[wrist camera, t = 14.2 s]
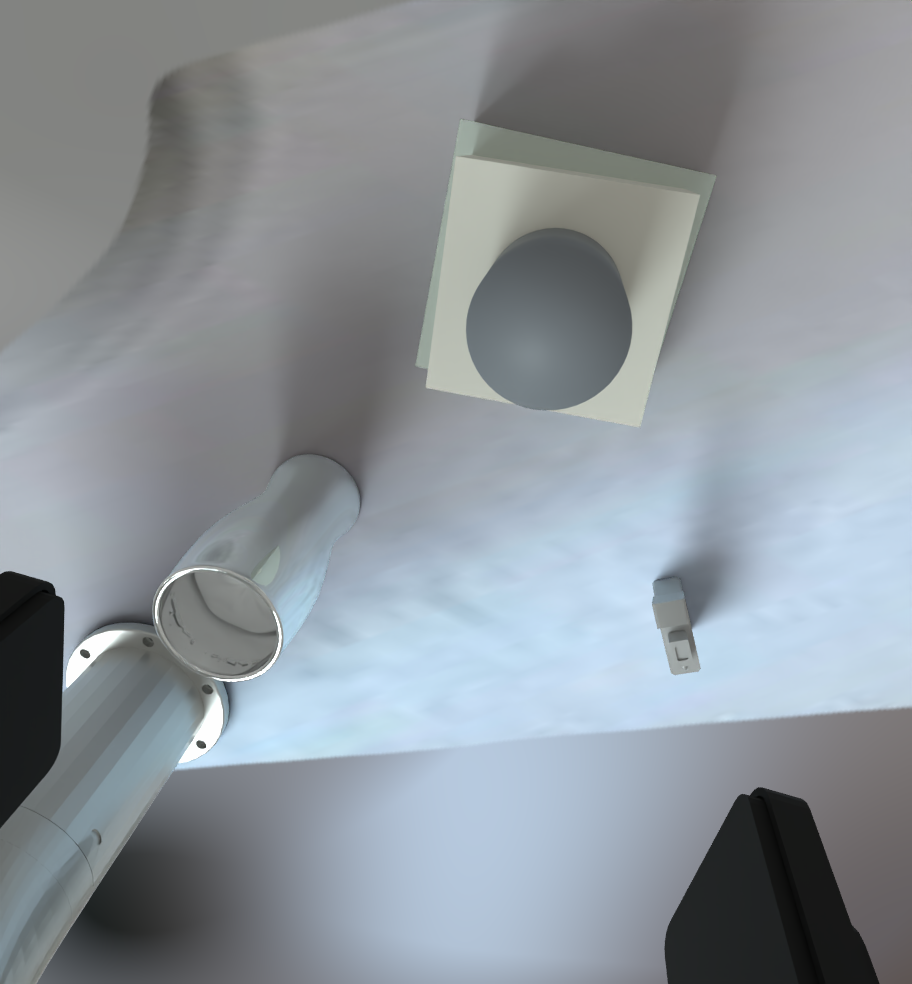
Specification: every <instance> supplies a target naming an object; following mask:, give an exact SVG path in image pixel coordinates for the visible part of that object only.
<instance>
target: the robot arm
mask: <svg viewBox="0 0 912 984" xmlns="http://www.w3.org/2000/svg"><path fill="white" fill-rule="evenodd" d="M63 645H64V601H63V599H62V598H61V597H59V596H56V594H55V588H54V586H53V584H51V583H49V582H47V581H43V580H40V579H36V578H33V577H29V576H26V575H22V574H19V573H15V572H12V571H8V572H4V573H2V574H0V984H36V983H37V981H38V980H39V978H40V977H41V975H42V973H43V971H44V970H45V968H46V966H47V965H48V963H49V961H50V960H51V958H52V956H53V955H54V953H55V952H56V950H57V948H58V947H59V945H60V944H61V942H62V941H63V939H64V937H65V935H66V934H67V932H68V931H69V929H70V928H71V926H72V925H73V923H74V922H75V920H76V919H77V917H78V916H79V914H80V913H81V911H82V909H83V908H84V906H85V905H86V903H87V902H88V900H89V899H90V897H91V895H92V893H93V892H94V891H95V889H96V888H97V886H98V884H99V883H100V882H101V880H102V878H103V877H104V875H105V874H106V872H107V870H108V869H109V868H110V866H111V865H112V863H113V862H114V860H115V859H116V857H117V856H118V854H119V853H120V851H121V849H122V848H123V846H124V845H125V843H126V842H127V840H128V839H129V837H130V836H131V834H132V833H133V831H134V830H135V828H136V827H137V825H138V824H139V822H140V820H141V819H142V818H143V816H144V814H145V813H146V811H147V810H148V808H149V807H150V805H151V804H152V802H153V800H154V799H155V798H156V796H157V795H158V793H159V792H160V790H161V789H162V787H163V786H164V784H165V782H166V781H167V779H168V778H169V776H170V775H171V773H172V772H173V770H174V769H175V767H176V766H177V764H178V763H184V762H188V761H191V760H194V759H197V758H199V757H200V756H202V755H204V754H205V753H207V752H208V751H209V750H210V749H211V748H212V747H213V746H214V745H215V744H216V743H217V741H218V739H219V738H220V736H221V735H222V733H223V731H224V729H225V726H226V724H227V722H228V715H229V703H228V695H227V692H226V689H225V686H224V683H223V681H219V680H214V679H210V678H207V677H204V676H202V675H200V674H197V673H195V672H194V671H192V670H190V669H188V668H187V667H185V666H184V665H183V664H181V663H180V662H179V661H178V660H177V659H175V658H174V657H173V656H172V655H171V653H170V652H169V651H168V650H167V649H166V647H165V646H164V645H163V643H162V641H161V640H160V638H159V636H158V634H157V631H156V629H155V626H152V625H147V624H141V623H116V624H111V625H107V626H104V627H102V628H100V629H97V630H95V631H94V632H92V633H91V634H90V635H88V636H87V637H86V638H85V639H84V640H83V641H82V642H81V643H80V644H79V645H78V646H77V647H76V648H75V650H74V651H73V653H72V655H71V657H70V658H69V662H68V666H67V669H66V684H67V689H66V690H65V691H64V692H63V693H62V685H63ZM665 961H666V969H667V978H668V984H879V981H878V978H877V976H876V973H875V970H874V968H873V965H872V962H871V959H870V957H869V954H868V951H867V949H866V946H865V944H864V942H863V940H862V938H861V936H860V934H859V932H858V931H857V930H856V929H855V928H854V927H853V926H852V925H851V922H850V919H849V916H848V913H847V911H846V908H845V905H844V902H843V899H842V897H841V894H840V891H839V888H838V886H837V883H836V880H835V877H834V874H833V872H832V869H831V866H830V863H829V861H828V858H827V855H826V852H825V850H824V847H823V844H822V841H821V838H820V836H819V833H818V830H817V827H816V825H815V822H814V819H813V816H812V813H811V811H810V808H809V806H808V805H807V803H806V802H805V801H804V800H802V799H800V798H797V797H793V796H790V795H786V794H783V793H779V792H776V791H772V790H769V789H765V788H759V787H758V788H757V789H755V790H754V791H753V792H752V793H751V795H750V796H749V795H745V794H741V795H740V796H738V797H737V799H736V800H735V802H734V804H733V806H732V808H731V810H730V812H729V813H728V815H727V817H726V819H725V821H724V823H723V825H722V826H721V828H720V830H719V832H718V834H717V836H716V837H715V839H714V841H713V843H712V845H711V847H710V849H709V851H708V852H707V854H706V856H705V858H704V860H703V862H702V863H701V865H700V867H699V869H698V871H697V873H696V875H695V876H694V878H693V880H692V882H691V884H690V886H689V888H688V889H687V891H686V893H685V895H684V897H683V899H682V901H681V903H680V904H679V906H678V908H677V910H676V912H675V914H674V915H673V917H672V919H671V921H670V923H669V926H668V929H667V932H666V938H665Z"/></svg>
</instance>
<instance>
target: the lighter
mask: <svg viewBox="0 0 912 984" xmlns="http://www.w3.org/2000/svg"><path fill="white" fill-rule="evenodd" d="M653 590H654V597H653V601H652V606H653V611H654V615H655V620H656V624H657V629H658V628H660V629H661V633H662V637H663V641H664V646H665V650H666V654H667V658H668V662H669V666H670V670H671V673H672V674H674V675H678V674H684V673H691V672H698V671H699V670H700V669H701V668H700V664H699V659H698V655H697V651H696V646H695V642H694V637H693V633H692V628H691V624H690V619H689V614H688V610H687V605H686V601H685V597H684V593H683V589H682V584H681V580H680V578H678V577H673V578H667V579H662V580H657V581H654V582H653Z"/></svg>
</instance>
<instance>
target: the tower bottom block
mask: <svg viewBox="0 0 912 984" xmlns="http://www.w3.org/2000/svg"><path fill="white" fill-rule="evenodd" d="M463 155H476V156H482V157H489V158H495V159H501V160H507V161H514V162H520V163H526V164H532V165H539V166H545V167H551V168H557V169H564V170H570V171H576V172H582V173H589V174H595V175H601V176H608V177H614V178H620V179H626V180H633V181H639V182H645V183H651V184H658V185H664V186H670V187H676V188H683V189H687V190H689V191H692V192H694V193H696V194H699V195H700V198H699V202H698V206H697V210H696V213H695V217H694V221H693V225H692V229H691V233H690V237H689V240H688V244H687V248H686V252H685V256H684V260H683V264H682V267H681V271H680V275H679V279H678V283H677V287H676V291H675V294H674V298H673V302H672V306H671V310H670V314H669V318H668V321H667V325H666V329H665V333H664V337H663V341H664V338H665V335H666V332H667V329H668V326H669V323H670V320H671V317H672V313H673V310H674V307H675V304H676V301H677V298H678V295H679V292H680V289H681V285H682V282H683V279H684V276H685V273H686V270H687V267H688V264H689V261H690V257H691V254H692V251H693V248H694V245H695V242H696V239H697V236H698V233H699V229H700V226H701V223H702V220H703V217H704V214H705V211H706V208H707V205H708V201H709V198H710V195H711V192H712V189H713V186H714V183H715V180H716V177H717V175H712V174H708V173H703V172H699V171H694V170H690V169H685V168H681V167H676V166H672V165H667V164H663V163H658V162H654V161H649V160H645V159H640V158H636V157H631V156H627V155H622V154H618V153H613V152H609V151H604V150H600V149H595V148H591V147H586V146H582V145H577V144H572V143H568V142H563V141H559V140H554V139H550V138H545V137H541V136H536V135H532V134H527V133H523V132H518V131H514V130H509V129H505V128H500V127H496V126H491V125H487V124H482V123H478V122H473V121H469V120H464V119H460V122H459V128H458V133H457V139H456V144H455V150H454V155H453V161H452V166H451V172H450V177H449V183H448V188H447V194H446V200H445V205H444V211H443V216H442V222H441V227H440V233H439V238H438V244H437V249H436V255H435V260H434V266H433V271H432V277H431V282H430V288H429V293H428V299H427V304H426V310H425V315H424V321H423V326H422V332H421V337H420V343H419V348H418V354H417V359H416V365H415V366H417V367H421V368H425V369H428V366H429V358H430V351H431V343H432V335H433V327H434V320H435V312H436V304H437V297H438V289H439V281H440V274H441V266H442V258H443V251H444V243H445V235H446V228H447V220H448V212H449V204H450V197H451V189H452V181H453V174H454V166H455V158H456V156H463ZM663 341H662V345H663ZM662 345H661V348H662ZM661 348H660V351H661ZM659 354H660V352H659ZM658 357H659V356H658Z"/></svg>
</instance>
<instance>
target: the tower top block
mask: <svg viewBox="0 0 912 984" xmlns="http://www.w3.org/2000/svg"><path fill="white" fill-rule="evenodd" d="M699 198H700V195H699V194H696V193H694V192H692V191H689V190H687V189H683V188H676V187H670V186H664V185H658V184H651V183H645V182H639V181H633V180H626V179H620V178H614V177H608V176H601V175H595V174H589V173H582V172H576V171H570V170H564V169H557V168H551V167H545V166H539V165H532V164H526V163H520V162H514V161H507V160H501V159H495V158H489V157H482V156H476V155H463V156H456V158H455V166H454V174H453V181H452V189H451V197H450V204H449V212H448V220H447V228H446V235H445V243H444V251H443V258H442V266H441V274H440V281H439V289H438V297H437V304H436V312H435V320H434V327H433V335H432V343H431V351H430V358H429V366H428V374H427V381H426V388H428V389H434V390H439V391H445V392H450V393H455V394H461V395H466V396H472V397H477V398H483V399H488V400H493V401H499V402H504V403H510V404H514V403H512V402H510V401H508V400H506V399H505V398H503V397H502V396H500V395H499V394H497V393H496V392H495V391H494V390H493V389H492V388H491V387H489V385H488V384H487V383H486V382H485V381H484V380H483V379H482V377H481V376H480V374H479V373H478V371H477V369H476V367H475V365H474V363H473V361H472V359H471V356H470V353H469V350H468V345H467V338H466V319H467V314H468V309H469V306H470V303H471V300H472V297H473V295H474V293H475V291H476V289H477V287H478V286H479V284H480V283H481V281H482V280H483V278H484V277H485V275H486V274H487V272H488V271H489V269H490V268H491V267H492V265H493V264H494V262H495V261H496V259H497V258H498V256H499V255H500V254H501V253H502V252H503V251H504V249H506V248H507V247H508V246H509V245H510V244H511V243H512V242H514V241H515V240H517V239H518V238H520V237H522V236H524V235H526V234H528V233H531V232H534V231H536V230H541V229H546V228H565V229H570V230H574V231H577V232H580V233H583V234H585V235H587V236H588V237H590V238H592V239H593V240H595V241H596V242H598V243H599V244H600V245H601V246H602V247H603V248H604V249H605V250H606V251H607V252H608V254H609V255H610V256H611V257H612V259H613V261H614V262H615V264H616V266H617V268H618V271H619V273H620V276H621V279H622V282H623V286H624V289H625V292H626V295H627V298H628V302H629V305H630V309H631V315H632V338H631V344H630V348H629V351H628V355H627V357H626V359H625V362H624V364H623V366H622V367H621V369H620V371H619V372H618V374H617V375H616V376H615V378H614V379H613V380H612V382H611V383H610V384H609V385H608V386H607V387H606V388H605V389H604V390H602V391H601V392H600V393H598V394H597V395H596V396H594V397H593V398H591V399H589V400H587V401H586V402H583V403H581V404H579V405H576V406H573V407H570V408H566V409H560V410H548V411H553V412H559V413H564V414H569V415H575V416H580V417H586V418H591V419H597V420H602V421H607V422H613V423H618V424H624V425H629V426H635V427H640V426H641V422H642V418H643V414H644V410H645V406H646V402H647V399H648V395H649V391H650V387H651V383H652V379H653V375H654V372H655V368H656V364H657V360H658V356H659V352H660V348H661V345H662V341H663V337H664V333H665V329H666V325H667V321H668V318H669V314H670V310H671V306H672V302H673V298H674V294H675V291H676V287H677V283H678V279H679V275H680V271H681V267H682V264H683V260H684V256H685V252H686V248H687V244H688V240H689V237H690V233H691V229H692V225H693V221H694V217H695V213H696V210H697V206H698V202H699ZM515 405H517V404H515Z"/></svg>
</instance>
